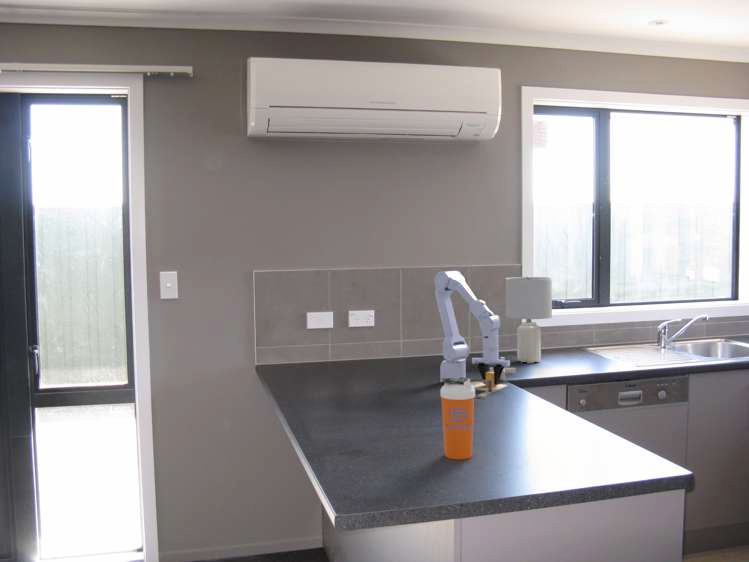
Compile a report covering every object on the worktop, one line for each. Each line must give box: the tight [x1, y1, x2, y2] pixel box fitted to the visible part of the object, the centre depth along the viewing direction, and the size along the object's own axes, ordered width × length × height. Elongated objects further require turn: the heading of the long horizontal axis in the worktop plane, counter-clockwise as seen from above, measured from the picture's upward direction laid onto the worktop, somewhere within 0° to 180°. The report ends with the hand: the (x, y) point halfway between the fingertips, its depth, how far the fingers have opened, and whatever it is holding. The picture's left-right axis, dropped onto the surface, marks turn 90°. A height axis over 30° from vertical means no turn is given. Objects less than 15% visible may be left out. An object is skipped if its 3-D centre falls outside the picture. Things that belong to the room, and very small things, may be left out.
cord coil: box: [485, 371, 496, 387], centre depth 262 cm, size 4×4×5 cm
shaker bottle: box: [439, 377, 476, 461], centre depth 181 cm, size 9×9×20 cm
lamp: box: [505, 276, 553, 364], centre depth 319 cm, size 20×20×39 cm
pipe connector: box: [489, 356, 517, 381], centre depth 273 cm, size 10×10×10 cm
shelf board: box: [459, 377, 509, 401], centre depth 258 cm, size 14×22×5 cm, turn 146°
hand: (490, 384), depth 262 cm, fingers closed on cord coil, 4 cm apart
